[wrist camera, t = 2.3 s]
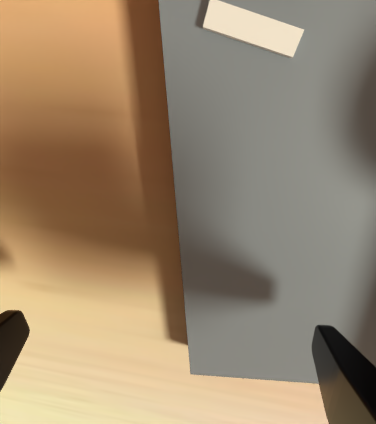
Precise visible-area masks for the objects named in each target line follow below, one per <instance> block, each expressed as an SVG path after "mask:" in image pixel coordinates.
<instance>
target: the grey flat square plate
mask: <svg viewBox="0 0 376 424" xmlns="http://www.w3.org/2000/svg"><path fill="white" fill-rule="evenodd" d="M159 12H160V24H161V35H162V47H163V58H164V70H165V82H166V93H167V105H168V117H169V128H170V140H171V152H172V163H173V175H174V187H175V198H176V210H177V221H178V233H179V245H180V256H181V268H182V280H183V291H184V303H185V315H186V326H187V338H188V350H189V361H190V373H191V374H194V375H207V376H221V377H235V378H249V379H262V380H276V381H290V382H304V383H317V384H319V381H318V377H317V373H316V368H315V364H314V360H313V355H312V348H311V347H312V340H313V335H314V330H315V327H316V326H317V325H331V326H333V327H334V328H336V329H337V330H338V331H339V332H340V333H341V334H342V335H343V336H344V337H345V338H346V339H347V340H348V341H349V342H350V343H351V344H352V345H353V346H354V347H356V348H357V349H358V350H359V351H360V352H361V353H362V354H363V355H364V356H365V357H366V358H367V359H368V360H369V361H370V362H371V363H372V364H373V365H374V366H375V367H376V0H159Z"/></svg>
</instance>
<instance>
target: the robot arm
mask: <svg viewBox="0 0 376 424" xmlns="http://www.w3.org/2000/svg"><path fill="white" fill-rule="evenodd" d="M29 331H30V330H29V326H28V324H27V322H26V319H25V317H24V315H23V313H22V312H21V311H19V310H7V311H5V312H3V313H1V314H0V391H1V390H2V388H3V386H4V384H5V382H6V380H7V378H8V376H9V374H10V372H11V370H12V368H13V366H14V364H15V362H16V360H17V358H18V356H19V354H20V352H21V350H22V348H23V346H24V344H25V342H26V340H27V338H28V336H29ZM311 348H312V355H313V360H314V364H315V368H316V373H317V377H318V381H319V386H320V390H321V395H322V399H323V403H324V408H325V412H326V416H327V419H328V422H329V424H376V367H375V366H374V365H373V364H372V363H371V362H370V361H369V360H368V359H367V358H366V357H365V356H364V355H363V354H362V353H361V352H360V351H359V350H358V349H357V348H356V347H354V346H353V345H352V344H351V343H350V342H349V341H348V340H347V339H346V338H345V337H344V336H343V335H342V334H341V333H340V332H339V331H338V330H337V329H336V328H334V327H333V326H331V325H317V326H316V327H315V330H314V335H313V340H312V347H311Z"/></svg>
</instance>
